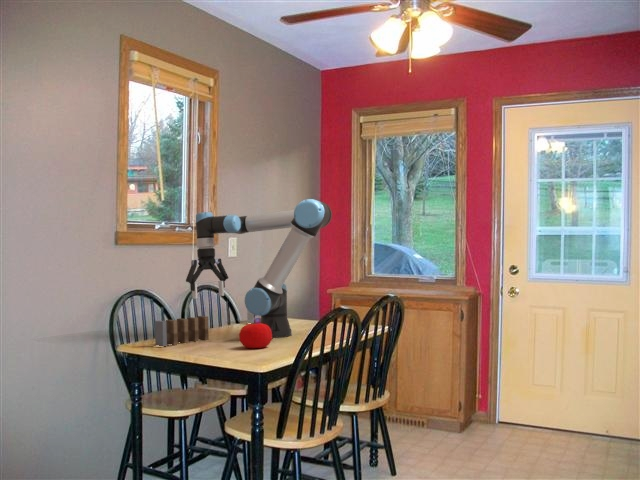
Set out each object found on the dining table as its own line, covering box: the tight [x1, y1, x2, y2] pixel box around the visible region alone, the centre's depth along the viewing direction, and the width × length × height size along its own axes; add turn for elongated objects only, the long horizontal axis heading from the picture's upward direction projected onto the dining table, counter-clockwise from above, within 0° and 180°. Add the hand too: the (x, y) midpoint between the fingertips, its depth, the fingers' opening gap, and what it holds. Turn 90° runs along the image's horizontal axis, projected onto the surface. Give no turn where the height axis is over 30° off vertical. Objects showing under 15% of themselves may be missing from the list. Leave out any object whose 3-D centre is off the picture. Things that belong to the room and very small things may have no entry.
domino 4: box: [186, 316, 200, 343], centre depth 266 cm, size 5×2×10 cm, turn 51°
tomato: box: [238, 321, 273, 349], centre depth 243 cm, size 11×13×10 cm
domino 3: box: [176, 318, 189, 344], centre depth 262 cm, size 5×2×10 cm, turn 51°
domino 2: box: [165, 319, 179, 346], centre depth 258 cm, size 5×2×10 cm, turn 51°
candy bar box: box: [246, 309, 261, 324], centre depth 326 cm, size 11×5×16 cm, turn 148°
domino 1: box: [154, 320, 167, 346], centre depth 254 cm, size 5×2×10 cm, turn 51°
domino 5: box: [196, 315, 210, 341], centre depth 271 cm, size 5×2×10 cm, turn 51°
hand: (208, 297), depth 272 cm, fingers open, 13 cm apart
